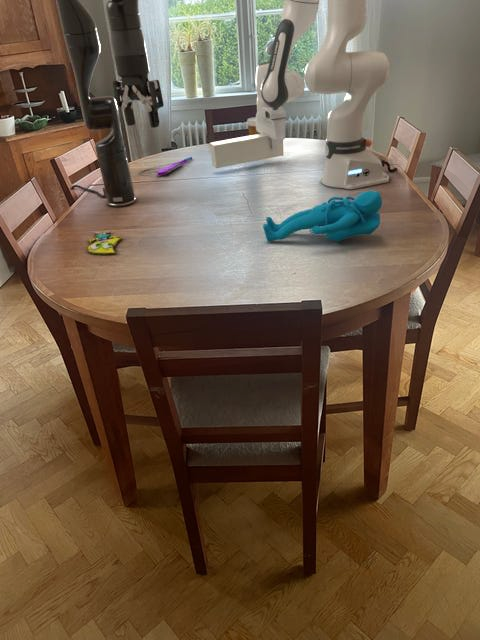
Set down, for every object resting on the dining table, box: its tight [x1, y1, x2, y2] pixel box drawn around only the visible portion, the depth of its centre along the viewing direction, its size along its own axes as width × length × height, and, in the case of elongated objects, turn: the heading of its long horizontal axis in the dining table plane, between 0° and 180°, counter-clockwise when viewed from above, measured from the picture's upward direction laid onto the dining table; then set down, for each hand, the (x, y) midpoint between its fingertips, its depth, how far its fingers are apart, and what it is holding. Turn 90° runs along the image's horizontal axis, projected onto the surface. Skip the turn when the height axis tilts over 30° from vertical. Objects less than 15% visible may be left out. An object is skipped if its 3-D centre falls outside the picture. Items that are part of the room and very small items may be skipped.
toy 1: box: [87, 230, 123, 255], centre depth 134 cm, size 10×1×15 cm
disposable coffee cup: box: [246, 116, 261, 136], centre depth 210 cm, size 10×10×12 cm
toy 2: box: [262, 190, 383, 243], centre depth 124 cm, size 17×11×30 cm
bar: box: [209, 133, 284, 169], centre depth 184 cm, size 28×5×8 cm, turn 111°
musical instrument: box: [138, 156, 193, 177], centre depth 196 cm, size 24×2×20 cm
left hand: (143, 126), depth 120 cm, fingers open, 8 cm apart
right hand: (270, 147), depth 187 cm, fingers closed on bar, 5 cm apart
